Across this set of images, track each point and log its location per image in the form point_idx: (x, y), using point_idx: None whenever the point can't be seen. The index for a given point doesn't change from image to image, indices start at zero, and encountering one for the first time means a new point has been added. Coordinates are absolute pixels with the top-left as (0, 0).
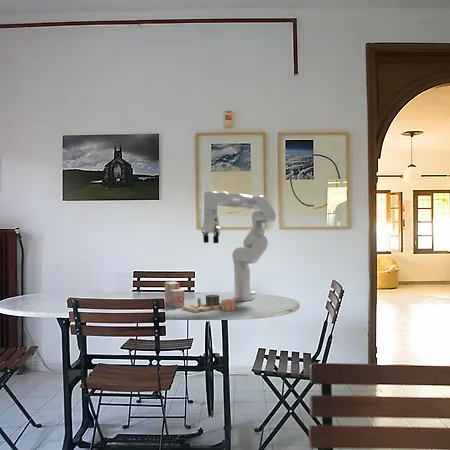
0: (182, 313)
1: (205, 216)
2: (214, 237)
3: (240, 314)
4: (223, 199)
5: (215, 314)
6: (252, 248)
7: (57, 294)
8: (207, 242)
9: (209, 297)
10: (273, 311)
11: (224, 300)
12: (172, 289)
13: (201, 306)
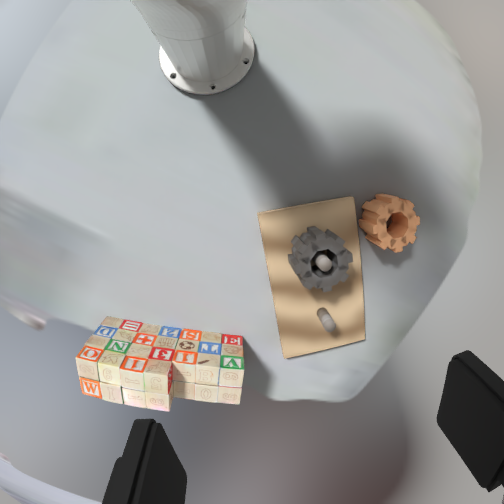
0: (344, 371)
1: None
2: (493, 462)
3: (457, 228)
4: None
5: (418, 294)
6: None
7: None
8: (159, 432)
9: (335, 282)
10: (470, 119)
11: (393, 241)
12: (180, 391)
13: (324, 305)
